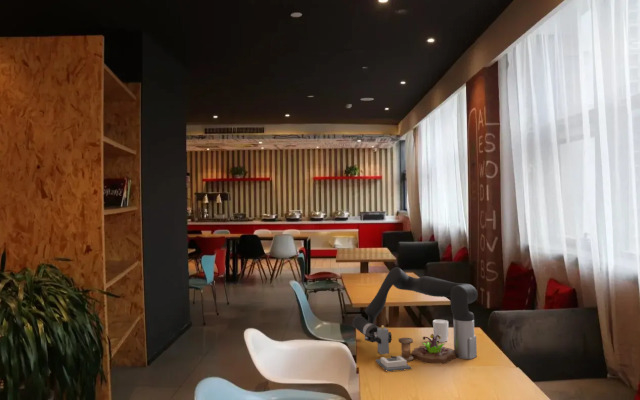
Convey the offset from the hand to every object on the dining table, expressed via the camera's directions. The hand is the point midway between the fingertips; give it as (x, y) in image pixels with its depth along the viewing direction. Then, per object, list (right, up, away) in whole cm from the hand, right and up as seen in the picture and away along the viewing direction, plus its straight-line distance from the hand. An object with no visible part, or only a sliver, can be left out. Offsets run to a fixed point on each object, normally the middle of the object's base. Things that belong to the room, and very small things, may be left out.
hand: (385, 341), depth 220 cm
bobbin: (+8, -8, 0) cm, 11 cm away
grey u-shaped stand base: (+2, -8, -10) cm, 13 cm away
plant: (+23, -8, +2) cm, 24 cm away
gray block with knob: (-1, -6, +2) cm, 7 cm away
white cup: (+33, -8, +28) cm, 44 cm away
